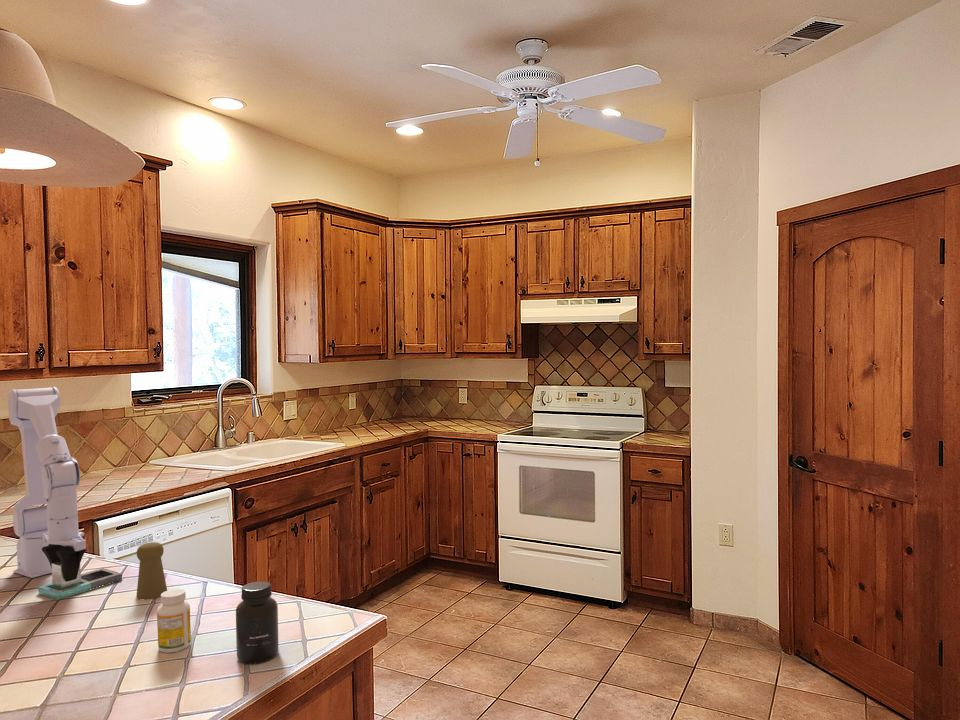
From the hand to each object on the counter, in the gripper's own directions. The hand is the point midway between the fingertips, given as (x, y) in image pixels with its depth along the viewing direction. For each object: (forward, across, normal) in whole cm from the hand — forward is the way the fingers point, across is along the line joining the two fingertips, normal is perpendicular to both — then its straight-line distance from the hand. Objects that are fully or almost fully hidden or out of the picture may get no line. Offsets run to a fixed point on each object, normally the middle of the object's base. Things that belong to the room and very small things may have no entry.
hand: (65, 578), depth 151 cm
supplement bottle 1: (+3, -47, +5) cm, 47 cm away
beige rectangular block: (+2, 0, 0) cm, 3 cm away
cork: (+3, -19, -8) cm, 21 cm away
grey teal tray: (+3, 0, -3) cm, 4 cm away
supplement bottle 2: (+3, -63, 0) cm, 63 cm away
